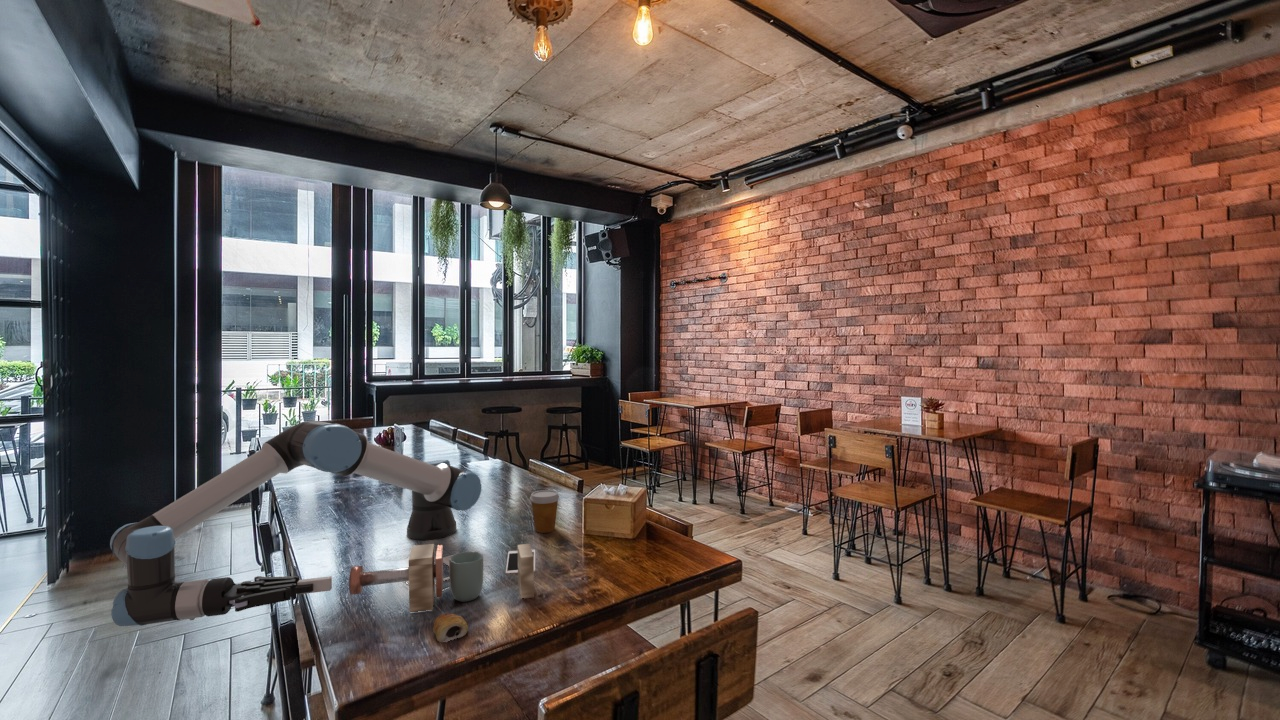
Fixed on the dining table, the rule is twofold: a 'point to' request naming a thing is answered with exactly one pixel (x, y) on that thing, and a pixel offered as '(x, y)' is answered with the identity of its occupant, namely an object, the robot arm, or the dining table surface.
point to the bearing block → (421, 578)
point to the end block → (525, 571)
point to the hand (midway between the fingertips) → (330, 583)
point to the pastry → (449, 627)
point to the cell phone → (514, 562)
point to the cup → (466, 575)
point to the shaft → (393, 576)
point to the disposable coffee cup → (544, 510)
